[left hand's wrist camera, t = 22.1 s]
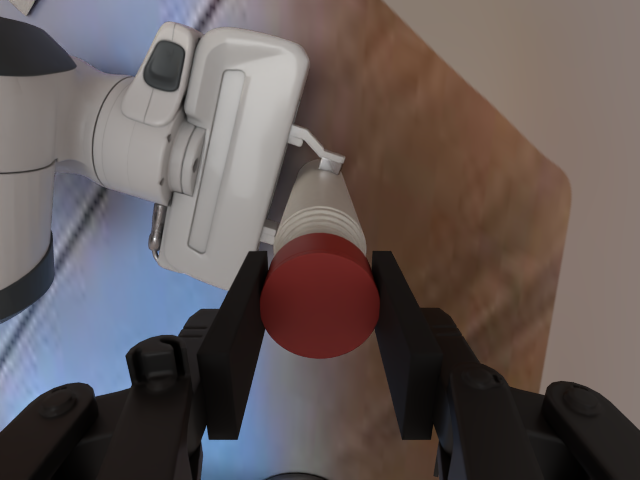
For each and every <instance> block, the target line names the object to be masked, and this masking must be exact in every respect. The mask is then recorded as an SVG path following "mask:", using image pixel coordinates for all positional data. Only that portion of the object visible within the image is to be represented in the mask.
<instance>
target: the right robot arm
mask: <svg viewBox="0 0 640 480" xmlns="http://www.w3.org/2000/svg"><path fill="white" fill-rule="evenodd" d="M309 69H310V60H309V57H308V55H307V53H306V51H305V50H304V48H303V47H302V46H301V45H299V44H297V43H295V42H292V41H290V40H287V39H283V38H280V37H277V36H273V35H269V34H265V33H261V32H256V31H252V30H246V29H240V28H233V27H220V28H215V29H212V30H210V31H208V32H207V33H206V34H205V35H203V34H202V33H201V32H199V31H197V30H195V29H193V28H191V27H189V26H186V25H183V24H180V23H175V22H166V23H164V24H163V25H162V26H161V27H160V29H159V30H158V32H157V34H156V36H155V38H154V40H153V42H152V44H151V46H150V49H149V51H148V53H147V55H146V57H145V59H144V61H143V63H142V65H141V67H140V68H139V70H138V72H137V74H136V76H135V77H134V76H130V75H118V74H108V73H105V72H102V71H100V70H98V69H96V68H94V67H93V66H91V65H90V64H88V63H87V62H85V61H83V60H81V59H79V58H77V57H74V56H71V55H68V53H67V52H66V51H65V50H64V49H63V48H62V47H61V46H60V45H59V44H58V43H57V42H56V41H55V40H54V39H53V38H51V37H50V36H49V35H48V34H47V33H46V32H45V31H44V30H42V29H40V28H38V27H36V26H33V25H30V24H27V23H24V22H20V21H16V20H12V19H7V18H3V17H0V324H1V323H3V322H5V321H7V320H9V319H11V318H12V317H14V316H16V315H17V314H19V313H21V312H22V311H23V310H25V309H26V308H28V307H29V306H30V305H32V304H33V303H34V302H35V301H37V300H38V299H39V298H40V297H41V296H42V295H44V293H45V292H46V291H47V290H48V289H49V287H50V286H51V284H52V282H53V279H54V253H53V235H52V231H51V220H52V205H53V190H54V174H55V172H56V173H71V174H78V175H82V176H84V177H87V178H89V179H90V180H92V181H93V182H95V183H97V184H98V185H100V186H102V187H104V188H107V189H111V190H114V191H118V192H121V193H124V194H128V195H131V196H134V197H137V198H140V199H144V200H147V201H151V202H154V203H155V204H154V210H153V216H152V230H151V234H150V236H149V240H148V247H149V249H150V250H152V253H153V257H154V259H155V260H156V262H157V263H158V265H159V266H161V267H162V268H164V269H167V270H171V271H174V272H178V273H184V274H186V275H189V276H191V277H193V278H195V279H197V280H200V281H202V282H205V283H207V284H210V285H212V286H215V287H218V288H221V289H224V290H227V291H229V289H230V287H231V285H232V283H233V281H234V279H235V277H236V275H237V273H238V271H239V269H240V267H241V265H242V263H243V261H244V260H245V258H246V256H247V254H248V252H249V251H258V249H259V246H260V242H264V243H267V244H270V245H274V240H275V236H276V234H277V231H278V226H279V223H278V222H275V221H272V220H269V219H267V218H268V214H269V210H270V207H271V203H272V200H273V196H274V193H275V189H276V186H277V182H278V179H279V175H280V172H281V168H282V165H283V161H284V158H285V154H286V151H287V147H288V144H292V145H295V146H298V147H301V146H302V145H303V142H304V141H305V142H306V143H307V144H308V145H309V146H310V147H311V148H312V149H313V150H314V152H315V153H316V154H317V155H318V156H319V157H320V158H321V159H320V162H319V166H318V169H321V170H324V171H329V170H330V172H331V173H333V174H336V175H339V174H340V171H341V169H342V166H343V163H344V160H345V156H344V155H341V154H339V153H336V152H333V151H330V150H327V149H324V146H323V145H322V144H321V143H320V142H319V141H318V139H317V138H316V137H315V136H314V135H313V134H312V133H311V131H310V130H309V129H308V128H305V127H302V126H299V125H296V124H294V122H295V119H296V115H297V112H298V108H299V105H300V101H301V98H302V94H303V91H304V87H305V84H306V80H307V76H308V73H309ZM159 250H160V251H159ZM157 251H159V256H158V253H157Z"/></svg>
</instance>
